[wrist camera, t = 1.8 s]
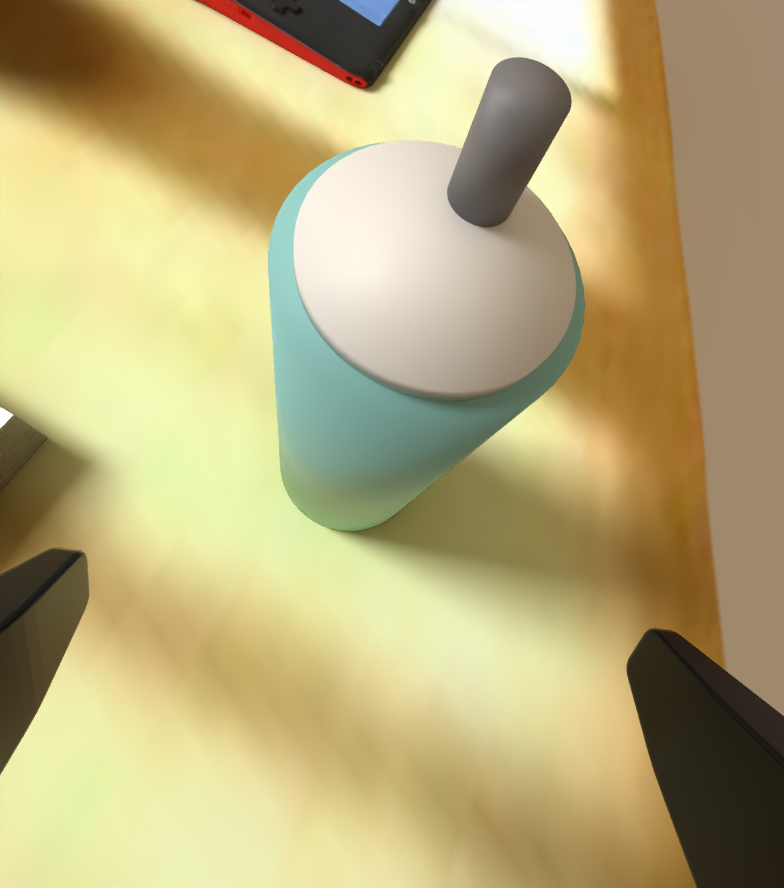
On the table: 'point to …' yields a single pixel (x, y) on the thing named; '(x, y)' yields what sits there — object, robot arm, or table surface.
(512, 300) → the spout can
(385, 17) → the game console
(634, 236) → the table surface
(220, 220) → the table surface
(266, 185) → the table surface
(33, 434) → the grey square metal tray
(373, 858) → the table surface
